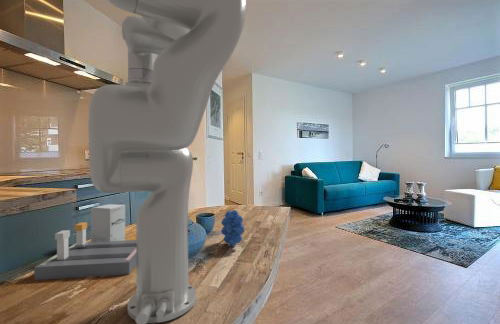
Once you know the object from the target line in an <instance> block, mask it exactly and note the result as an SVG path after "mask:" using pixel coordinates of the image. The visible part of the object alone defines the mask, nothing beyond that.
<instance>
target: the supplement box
mask: <svg viewBox="0 0 500 324" xmlns="http://www.w3.org/2000/svg"><path fill="white" fill-rule="evenodd" d="M90 220H91V221H90V242H103V241H126V204H114V203H113V204H111V203H110V204H104V205H97V206H94V207H91V208H90Z"/></svg>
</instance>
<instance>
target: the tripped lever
mask: <svg viewBox="0 0 500 324" xmlns="http://www.w3.org/2000/svg"><path fill="white" fill-rule="evenodd" d="M87 229H88V222H86V221H85V222H83V221H82V222H79V223H76V224H74V231H75V234H76V240H75V241H76V242H75V243H77V244H76V245H74V248H77V247H85V246H86V245H88V242H89V241H87Z"/></svg>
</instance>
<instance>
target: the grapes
mask: <svg viewBox="0 0 500 324" xmlns="http://www.w3.org/2000/svg"><path fill="white" fill-rule="evenodd" d="M243 222H244V218H243V216H241V215H240V214H239V211H237V210H236V209H232V210H228V211H226V212H225V214H224V218H222V220H221V225H222V226H223V227H222V228H221V231H220V233H221V234H222V235H224V237H223V241H224V242H225V243H226V244H229V246H230V247H235V246H236V245H237V244H240V243H241V242H242V240H243V237H242V235H243V234H244V232H245V227H244V224H243Z"/></svg>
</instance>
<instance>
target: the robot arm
mask: <svg viewBox="0 0 500 324" xmlns="http://www.w3.org/2000/svg"><path fill="white" fill-rule="evenodd" d="M107 1H108V2H109V3H110V4H112V5H113V6H114V7H116V8H118V9H120V10H123V11H125V12H128V13H132V14H135V15H128V16H126V17H125V18H124V19H123V20H122V23H121V35H122V39H123V41H124V42H125V44H126V47H127V82H125V85H124V84H105V85H102V86H100V87H98V88H97V89H96V90H95V91H94V92H93V95H92V97H91V98H90V102H89V108H88V123H87V124H88V125H87V126H88V160H89V161H88V162H89V164H88V165H89V177H90V180H91V183H92V185H93V187H95V189H96V190H97V191H99V192H101V193H104V194H105V193H106V194H121V193H122V194H123V193H136V192H137V193H138V192H139V193H140V192H144V193H145V192H150V194H149V195H148V196H147V197H146V198H145V200H144V201H143V203H142V204H141V205H140V206H139V209H138V211H137V213H136V220H135V222H136V223H135V226H136V235H135V236H136V239H135V240H136V258H137V265H136V292H135V293H134V294H133V295H132V296H131V297H130V298H129V300H128V302H127V307H126V309H127V311H126V312H127V314H128V316H129V317H130V319H132V320H134V321H135V323H136V324H158V323H164V322H168V321H171V320H174V319H176V318H179V317H181V316H183V315H184V314H185V313H187V312H188V311H190V310H191V309H192V308H193V307H194V306H195V304H196V301H197V291H196V288H195V287H194V286H193V285H192V284H190V283H189V203H190V202H189V199H190V189H191V188H190V187H191V181H192V176H193V175H192V174H193V169H194V168H193V167H194V160H193V159H194V157H193V154H192V152H191V150H190V149H189V146H191V144H193V142H194V140H195V138H196V136H197V134H198V133H199V129H200V127H201V123H202V120H203V117H204V113H205V112H206V109H207V106H208V102H209V99H210V97H211V93H212V90H213V88H214V85H215V83H216V81H217V79H218V78H219V76H220V74H221V72H222V70H224V68H225V66H226V64H227V63H228V62H229V60H230V58H231V56H232V55H233V53H234V51H235V49H236V47H237V45H238V43H239V40H240V38H241V35H242V32H243V28H244V24H245V20H246V12H247V11H246V10H247V0H107ZM136 15H138V16H136ZM140 16H141V17H140Z"/></svg>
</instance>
